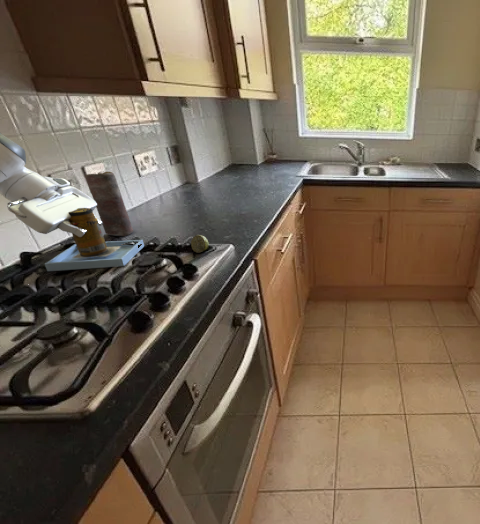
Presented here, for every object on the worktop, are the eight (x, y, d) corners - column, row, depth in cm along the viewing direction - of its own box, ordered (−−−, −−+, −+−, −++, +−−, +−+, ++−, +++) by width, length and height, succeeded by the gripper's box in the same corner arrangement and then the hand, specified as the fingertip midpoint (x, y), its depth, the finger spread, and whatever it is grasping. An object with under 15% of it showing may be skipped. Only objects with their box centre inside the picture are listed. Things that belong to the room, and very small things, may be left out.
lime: (209, 253, 96) (205, 237, 94) (190, 254, 95) (187, 238, 93) (211, 247, 100) (208, 232, 98) (193, 249, 99) (190, 233, 96)
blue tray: (47, 271, 84) (44, 263, 83) (78, 250, 96) (75, 243, 95) (124, 266, 87) (121, 258, 86) (144, 246, 100) (142, 239, 99)
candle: (102, 239, 104) (80, 174, 96) (108, 231, 110) (88, 170, 102) (131, 236, 107) (112, 173, 99) (135, 229, 113) (118, 169, 105)
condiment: (88, 248, 93) (73, 206, 88) (121, 246, 95) (108, 206, 89) (71, 258, 87) (54, 214, 82) (107, 257, 88) (92, 213, 83)
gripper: (8, 194, 73) (74, 234, 78) (68, 177, 91) (118, 211, 97) (-6, 214, 74) (60, 253, 79) (56, 193, 92) (106, 226, 98)
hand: (92, 229), depth 88 cm, fingers closed on condiment, 6 cm apart
